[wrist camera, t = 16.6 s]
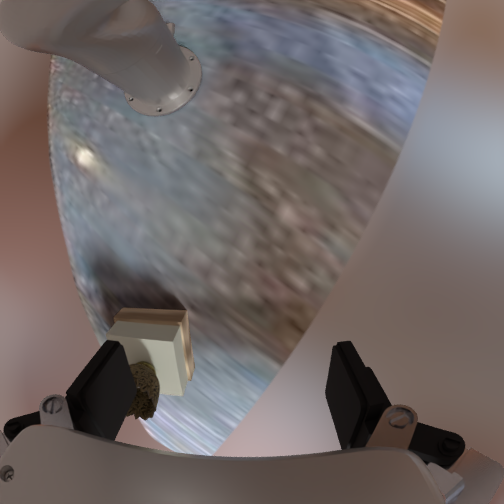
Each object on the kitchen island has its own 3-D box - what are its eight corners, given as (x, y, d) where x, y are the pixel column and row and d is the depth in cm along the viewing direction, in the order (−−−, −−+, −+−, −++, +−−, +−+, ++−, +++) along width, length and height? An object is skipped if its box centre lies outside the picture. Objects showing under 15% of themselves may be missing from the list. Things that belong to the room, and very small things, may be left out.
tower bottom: (123, 306, 44) (113, 317, 39) (187, 309, 44) (181, 322, 39) (137, 360, 47) (129, 373, 42) (195, 365, 47) (191, 380, 42)
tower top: (117, 320, 39) (105, 334, 35) (180, 325, 40) (173, 341, 35) (130, 372, 42) (122, 387, 38) (188, 379, 42) (183, 396, 38)
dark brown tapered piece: (158, 392, 38) (145, 427, 30) (119, 369, 37) (100, 401, 29) (176, 366, 36) (163, 403, 29) (133, 340, 35) (111, 373, 28)
